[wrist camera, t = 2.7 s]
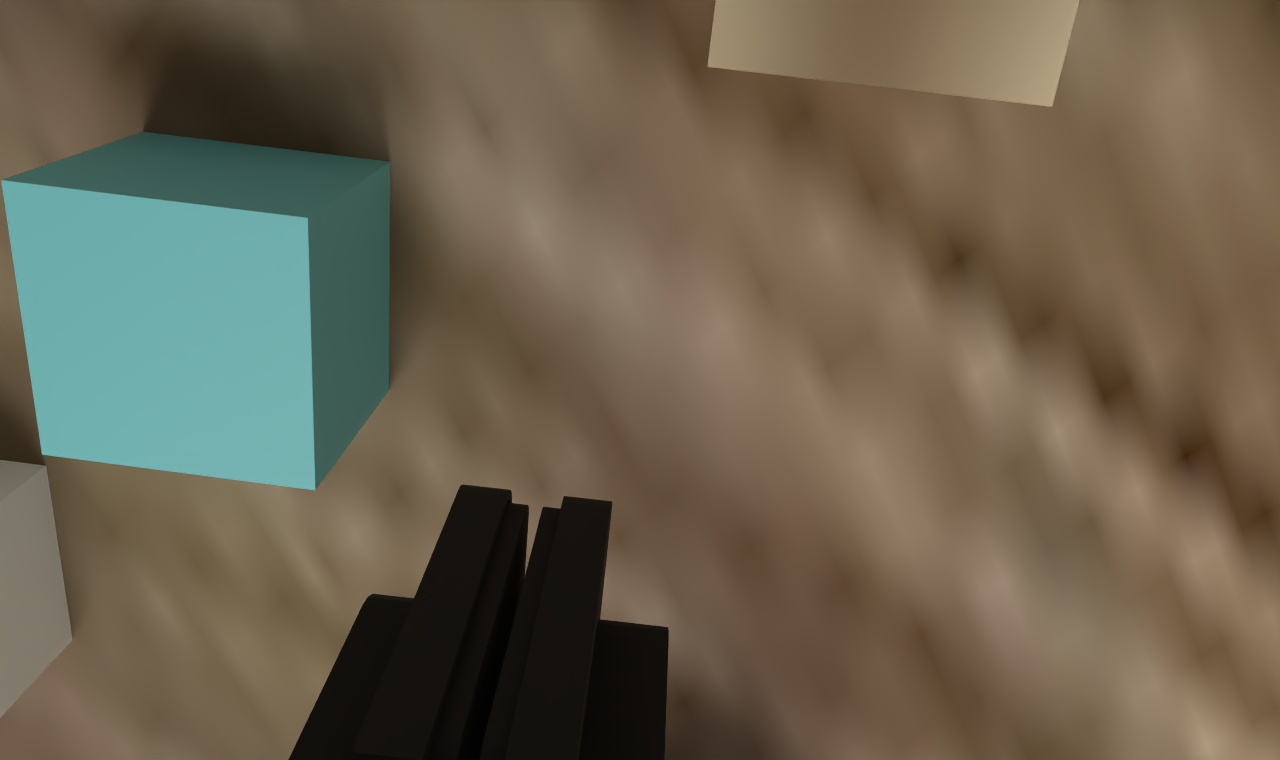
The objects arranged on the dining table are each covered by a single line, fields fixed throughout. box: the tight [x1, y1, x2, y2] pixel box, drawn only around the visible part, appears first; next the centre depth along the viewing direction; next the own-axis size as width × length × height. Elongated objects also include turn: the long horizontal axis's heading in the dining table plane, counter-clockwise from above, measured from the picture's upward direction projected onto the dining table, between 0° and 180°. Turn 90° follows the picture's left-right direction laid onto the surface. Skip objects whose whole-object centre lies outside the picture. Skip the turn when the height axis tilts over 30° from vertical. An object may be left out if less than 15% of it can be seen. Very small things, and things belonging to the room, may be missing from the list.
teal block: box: [1, 132, 390, 490], centre depth 19 cm, size 5×5×4 cm
